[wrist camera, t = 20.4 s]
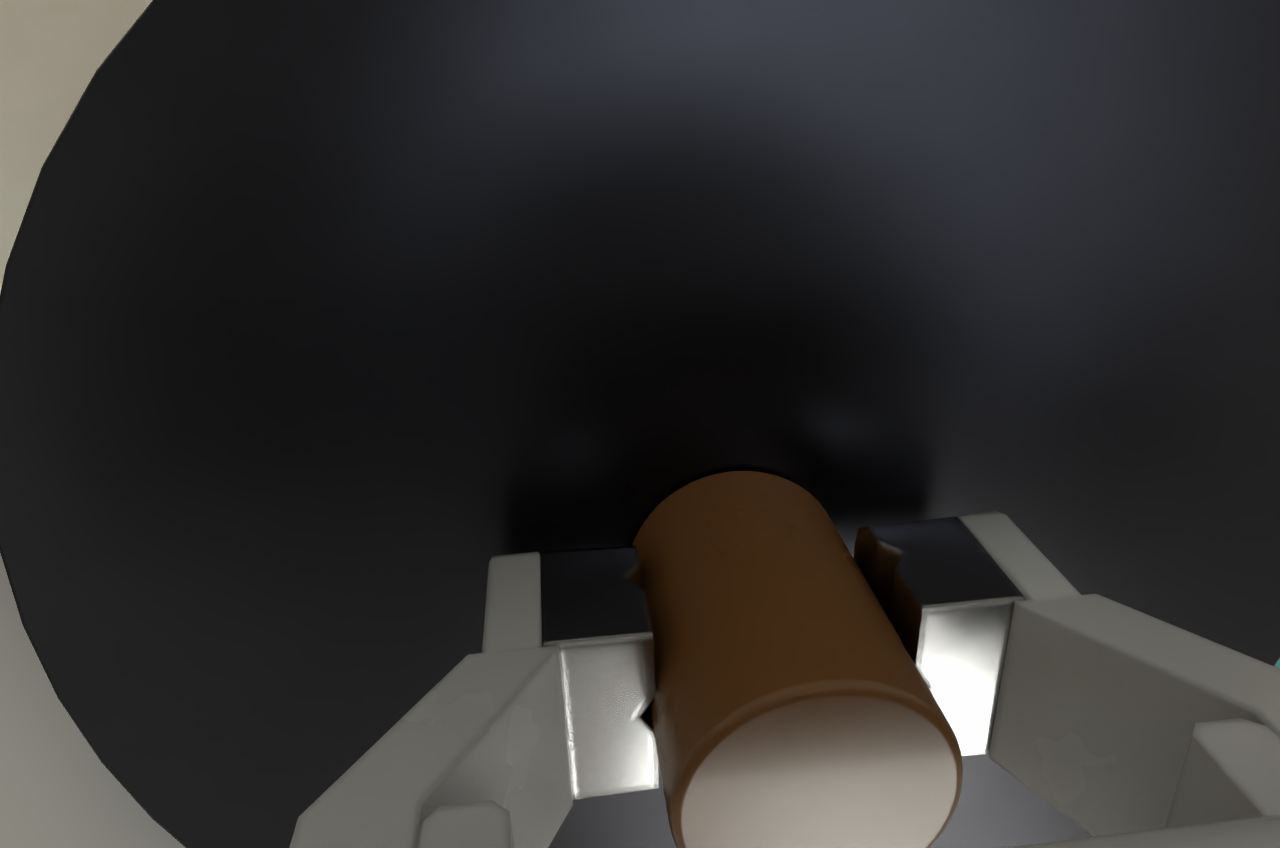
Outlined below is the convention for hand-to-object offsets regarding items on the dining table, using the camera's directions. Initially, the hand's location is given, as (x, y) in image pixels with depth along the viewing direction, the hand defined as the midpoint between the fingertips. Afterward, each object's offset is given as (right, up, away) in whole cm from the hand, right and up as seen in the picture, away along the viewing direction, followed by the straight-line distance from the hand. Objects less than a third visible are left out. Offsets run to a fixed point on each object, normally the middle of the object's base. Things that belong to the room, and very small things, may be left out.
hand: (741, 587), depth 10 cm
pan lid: (0, 0, +1) cm, 1 cm away
